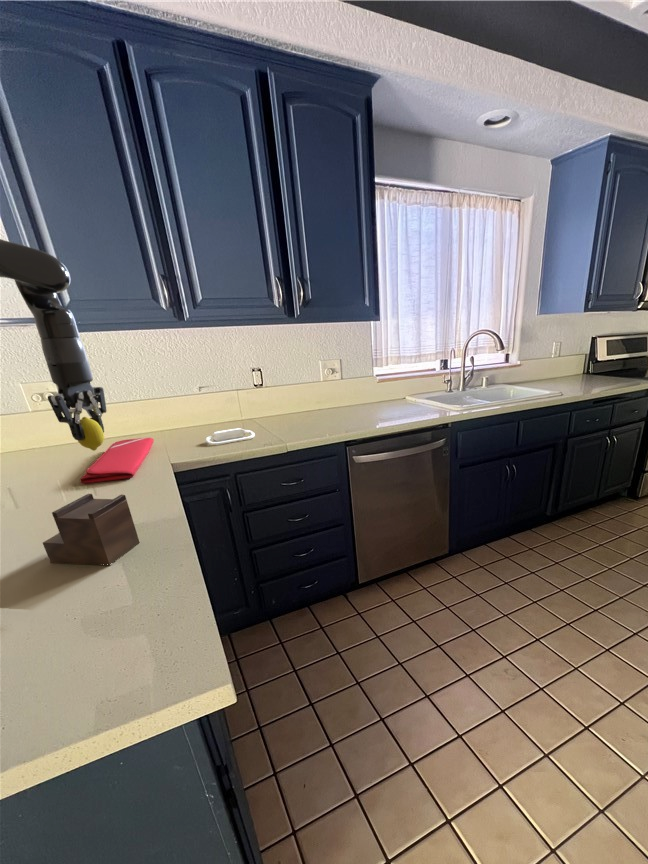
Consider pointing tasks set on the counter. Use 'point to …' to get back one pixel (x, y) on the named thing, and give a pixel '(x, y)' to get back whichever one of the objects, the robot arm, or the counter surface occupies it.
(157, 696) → the counter surface
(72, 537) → the wooden step block
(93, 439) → the lemon
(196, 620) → the counter surface
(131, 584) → the counter surface
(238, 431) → the white butter dish
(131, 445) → the folded red towel
